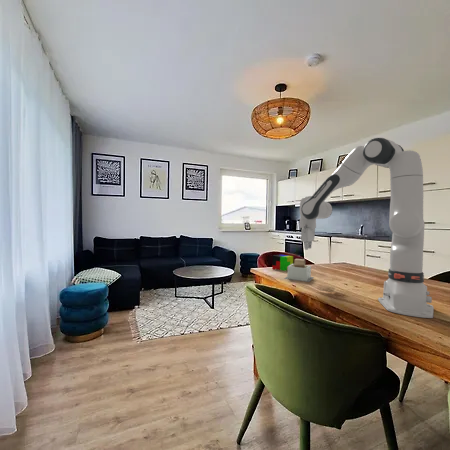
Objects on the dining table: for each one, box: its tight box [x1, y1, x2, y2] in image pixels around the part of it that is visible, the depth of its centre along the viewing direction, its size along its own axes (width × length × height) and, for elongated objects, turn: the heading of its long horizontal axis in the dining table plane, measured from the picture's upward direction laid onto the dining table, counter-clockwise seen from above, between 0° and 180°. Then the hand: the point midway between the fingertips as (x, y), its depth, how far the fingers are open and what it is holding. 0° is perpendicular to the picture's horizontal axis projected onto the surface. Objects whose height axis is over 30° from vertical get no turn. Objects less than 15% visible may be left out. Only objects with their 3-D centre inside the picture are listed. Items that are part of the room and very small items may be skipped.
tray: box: [283, 276, 314, 283], centre depth 146 cm, size 14×14×1 cm
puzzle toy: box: [271, 254, 294, 272], centre depth 175 cm, size 10×10×10 cm
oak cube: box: [293, 258, 306, 268], centre depth 146 cm, size 5×5×5 cm
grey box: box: [286, 263, 312, 282], centre depth 146 cm, size 11×11×7 cm
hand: (308, 249), depth 144 cm, fingers open, 8 cm apart
